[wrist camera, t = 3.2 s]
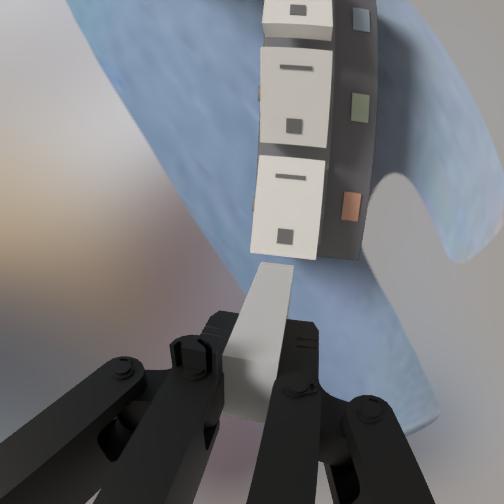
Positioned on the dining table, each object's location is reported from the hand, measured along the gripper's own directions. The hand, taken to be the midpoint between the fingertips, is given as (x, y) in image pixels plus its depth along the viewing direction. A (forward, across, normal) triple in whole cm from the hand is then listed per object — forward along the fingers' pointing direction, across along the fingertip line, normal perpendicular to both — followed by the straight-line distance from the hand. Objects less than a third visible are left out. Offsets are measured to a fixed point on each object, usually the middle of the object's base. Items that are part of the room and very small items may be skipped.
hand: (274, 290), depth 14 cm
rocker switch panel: (+14, +1, +10) cm, 17 cm away
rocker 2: (+6, 0, +10) cm, 11 cm away
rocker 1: (+6, 0, +17) cm, 18 cm away
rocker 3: (+6, 0, +3) cm, 7 cm away
